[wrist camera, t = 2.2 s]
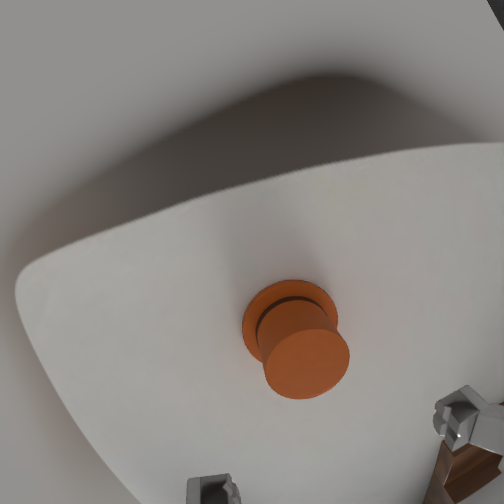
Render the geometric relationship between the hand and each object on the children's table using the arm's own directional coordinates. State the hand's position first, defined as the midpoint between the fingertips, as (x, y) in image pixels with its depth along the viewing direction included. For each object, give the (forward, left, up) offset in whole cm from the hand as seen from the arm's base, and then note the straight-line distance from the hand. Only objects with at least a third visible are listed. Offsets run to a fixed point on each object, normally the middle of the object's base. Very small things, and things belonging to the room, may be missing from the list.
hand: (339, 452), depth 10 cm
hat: (0, 0, -11) cm, 11 cm away
